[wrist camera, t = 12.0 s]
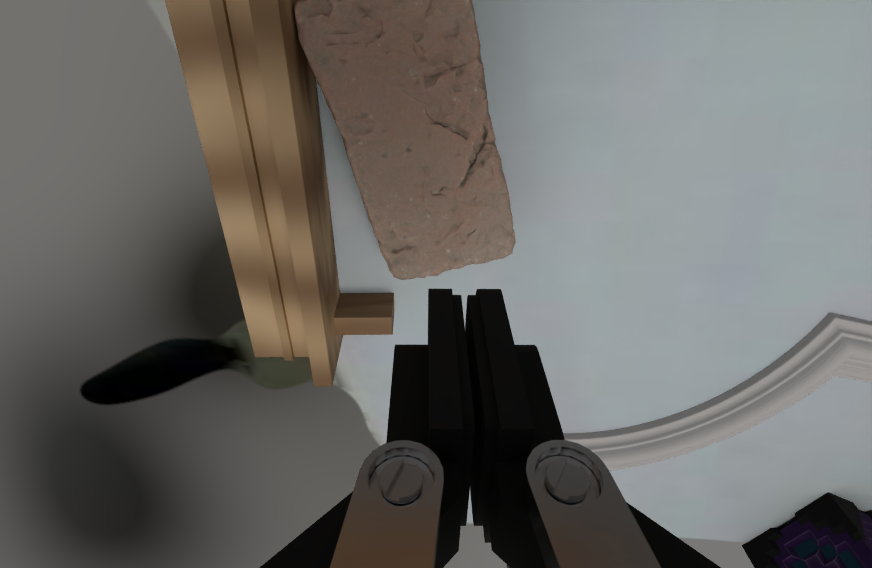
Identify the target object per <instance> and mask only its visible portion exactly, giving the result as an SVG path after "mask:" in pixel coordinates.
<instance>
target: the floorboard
mask: <svg viewBox="0 0 872 568" xmlns="http://www.w3.org/2000/svg"><path fill="white" fill-rule="evenodd" d="M296 1H297V0H165V2H166V6H167V10H168V14H169V18H170V22H171V26H172V30H173V34H174V38H175V42H176V46H177V50H178V54H179V58H180V62H181V66H182V69H183V74H184V77H185V81H186V85H187V89H188V93H189V97H190V101H191V105H192V109H193V113H194V117H195V121H196V125H197V129H198V133H199V137H200V140H201V145H202V148H203V152H204V156H205V160H206V164H207V168H208V172H209V176H210V180H211V184H212V188H213V192H214V196H215V200H216V204H217V208H218V212H219V216H220V220H221V224H222V227H223V231H224V236H225V239H226V243H227V247H228V251H229V255H230V259H231V263H232V267H233V271H234V275H235V279H236V283H237V287H238V291H239V295H240V298H241V303H242V307H243V311H244V315H245V319H246V323H247V326H248V330H249V334H250V338H251V342H252V346H253V350H254V354H255V357H284V360H285V361H286V360H293V359H294V357H309V358H310V364H311V370H312V376H313V381H314V386H332V385H333V380H334V375H335V371H336V366H337V361H338V357H339V352H340V347H341V342H342V338H343V335H382V334H393V321H394V293H371V294H340V291H339V282H338V273H337V264H336V255H335V247H334V238H333V229H332V220H331V211H330V202H329V193H328V185H327V176H326V167H325V158H324V149H323V140H322V131H321V123H320V114H319V105H318V96H317V87H316V78H315V75H314V73H313V71H312V69H311V67H310V64H309V62H308V60H307V57H306V55H305V53H304V50H303V48H302V46H301V43H300V41H299V36H298V29H297V23H296V17H295V10H294V4H295V2H296Z"/></svg>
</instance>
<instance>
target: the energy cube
mask: <svg viewBox="0 0 872 568" xmlns="http://www.w3.org/2000/svg"><path fill="white" fill-rule="evenodd" d="M795 515H796V519H797V520H795V521H794V522H792V523H790V524H789V525H787V526H786V527H784V528H782V529H781V530H777V529H774V528H770V529H768V530H767V531H765V532H764V533H762V534H760V535H759V536H757V537H756V538H754V539H752V540H751V541H749V542H748V543H745V544H743V545H742V547H743V548H744V550H745V552H746V554H747V555H748V557H749V559H750V560H751V562H752V564H753V566H754V567H755V568H872V510H870V511H868V512H866V513H862V512H860V511H858V508H857V507H856V506H855V505H854V503H853V502H850V501H848V500H845V499H843V498H841V497H838V496H836V495H833V494H831V493H826V494H825V495H823V496H821V497H820V498H818V499H817V500H815V501H813V502H812V503H810V504H809V505H807V506H805V507H804V508H802V509H801V510H799V511H797V512H796V513H795Z"/></svg>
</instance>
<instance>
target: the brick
mask: <svg viewBox="0 0 872 568" xmlns="http://www.w3.org/2000/svg"><path fill="white" fill-rule="evenodd" d="M294 10H295V17H296V23H297V29H298V36H299V41H300V43H301V46H302V48H303V50H304V53H305V55H306V57H307V60H308V62H309V64H310V67H311V69H312V71H313V73H314V75H315V77H316V79H317V81H318V83H319V85H320V87H321V89H322V91H323V94H324V96H325V99H326V101H327V104H328V106H329V108H330V110H331V112H332V114H333V117H334V119H335V122H336V124H337V126H338V128H339V130H340V133H341V135H342V138H343V142H344V145H345V149H346V152H347V155H348V158H349V162H350V165H351V168H352V171H353V174H354V177H355V180H356V183H357V185H358V188H359V190H360V193H361V196H362V199H363V202H364V205H365V208H366V211H367V214H368V218H369V220H370V222H371V224H372V227H373V230H374V233H375V236H376V238H377V240H378V243H379V247H380V250H381V253H382V255H383V257H384V258H385V260H386V261H387V264H388V267H389V270H390V272H391V273H392V274H393V276H394V277H396V278H398V279H401V280H405V279H413V278H416V277H419V278H425V277H426V276H438V275H439V274H441V273H442V272H444V271H447V270H451V269H459V268H462V267H464V266H467V265H470V264H481V263H486V262H489V261H492V260H496V259H502V258H505V257H507V256H508V255H510V254H512V251H513V247H514V245H515V234H514V230H513V221H512V214H511V209H510V200H509V193H508V189H507V185H506V181H505V177H504V174H503V171H502V166H501V158H500V156H499V153H498V151H497V148H496V145H495V136H494V132H493V128H492V124H491V119H490V116H489V113H488V101H487V92H486V86H485V77H484V68H483V64H482V61H481V56H480V42H479V37H478V32H477V27H476V21H475V14H474V9H473V4H472V0H297V1H296V2H295V4H294Z"/></svg>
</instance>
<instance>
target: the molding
mask: <svg viewBox="0 0 872 568" xmlns="http://www.w3.org/2000/svg"><path fill="white" fill-rule="evenodd" d="M834 376H840V377H845V378H850V379H856V380H861V381H866V382H871V383H872V322H870V321H866V320H861V319H856V318H852V317H847V316H842V315H838V314H833V313H829V314H828V315H827V316H826V317H825V318H824V319H823V320H822V321H821V322H820V323H819V324H818V325H817V326H816V327H815V328H814V329H813V330H812V331H811V332H810V333H809V334H808V335H806V336H805V337H804V338H803V339H802V340H801V341H800V342H799V343H797V344H796V345H795V346H794V347H793V348H792V349H790V350H789V351H788V352H787V353H785V354H784V355H783V356H781V357H780V358H779V359H778V360H776V361H775V362H773V363H772V364H771V365H769V366H768V367H766V368H765V369H763V370H762V371H761V372H759V373H757V374H756V375H754V376H753V377H751V378H750V379H748V380H746V381H745V382H743V383H741V384H740V385H738V386H736V387H734V388H733V389H731V390H729V391H727V392H725V393H723V394H721V395H719V396H717V397H715V398H713V399H711V400H709V401H707V402H705V403H702V404H700V405H698V406H695V407H693V408H691V409H688V410H685V411H683V412H680V413H677V414H674V415H671V416H668V417H665V418H662V419H659V420H655V421H652V422H648V423H645V424H640V425H636V426H631V427H627V428H621V429H615V430H609V431H601V432H591V433H573V434H563V435H564V438H565V440H567V441H571V442H575V443H578V444H580V445H582V446H584V447H586V448H588V449H590V450H591V451H592V452H593V453H595V454H596V455H597V456H598V457H599V458H600V459H601V460H602V461H603V463H604V464H605V465H606V467H607V468H608V470H609V471H611V470H617V469H624V468H629V467H635V466H640V465H645V464H649V463H653V462H657V461H661V460H665V459H669V458H672V457H676V456H679V455H682V454H686V453H689V452H692V451H695V450H698V449H700V448H703V447H706V446H709V445H711V444H714V443H717V442H719V441H721V440H724V439H726V438H729V437H731V436H733V435H736V434H738V433H740V432H742V431H745V430H747V429H749V428H751V427H753V426H755V425H757V424H759V423H761V422H763V421H765V420H767V419H768V418H770V417H772V416H774V415H776V414H777V413H779V412H781V411H783V410H785V409H786V408H788V407H790V406H791V405H793V404H795V403H796V402H798V401H799V400H801V399H803V398H804V397H806V396H807V395H809V394H810V393H812V392H813V391H815V390H816V389H818V388H819V387H821V386H822V385H823V384H825V383H826V382H828V381H829V380H830V379H832V378H833V377H834Z"/></svg>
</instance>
